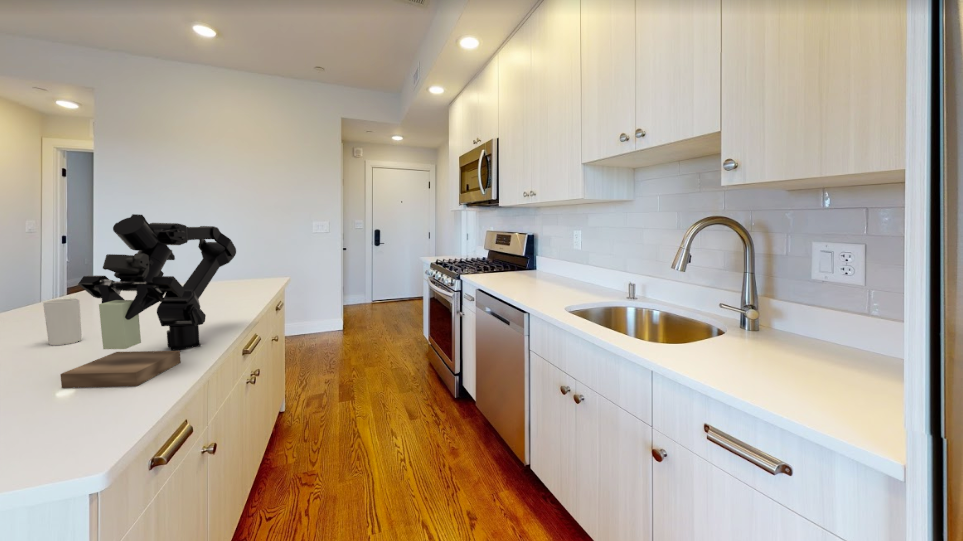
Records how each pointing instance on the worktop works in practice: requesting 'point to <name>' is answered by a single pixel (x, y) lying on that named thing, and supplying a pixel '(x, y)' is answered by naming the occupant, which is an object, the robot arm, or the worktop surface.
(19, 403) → the worktop surface
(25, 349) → the worktop surface
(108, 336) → the block
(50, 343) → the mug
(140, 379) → the base
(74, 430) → the worktop surface
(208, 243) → the robot arm
